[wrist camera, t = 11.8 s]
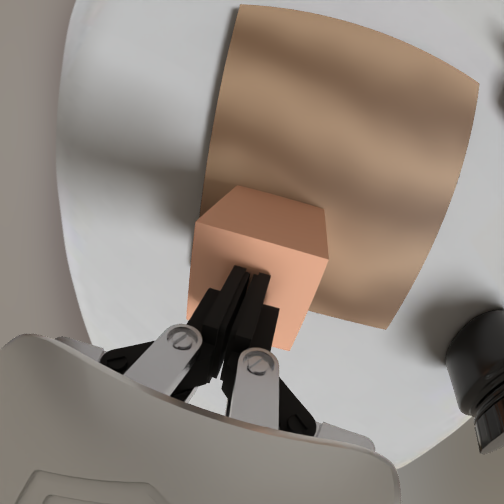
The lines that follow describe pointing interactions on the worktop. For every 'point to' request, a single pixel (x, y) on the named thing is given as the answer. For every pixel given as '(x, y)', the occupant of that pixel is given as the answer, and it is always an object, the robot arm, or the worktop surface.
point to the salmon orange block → (262, 253)
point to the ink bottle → (480, 376)
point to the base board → (344, 145)
